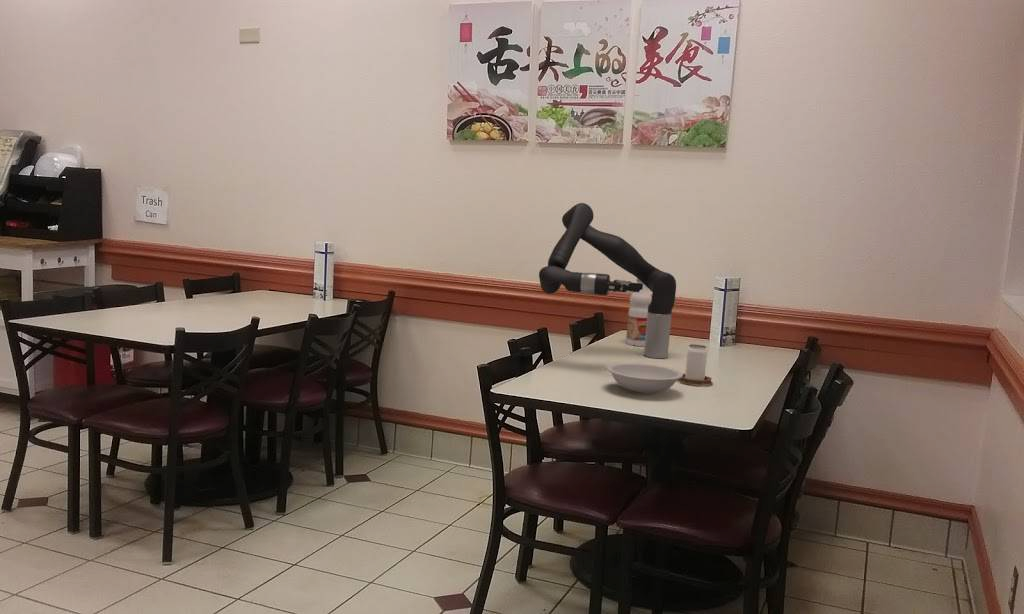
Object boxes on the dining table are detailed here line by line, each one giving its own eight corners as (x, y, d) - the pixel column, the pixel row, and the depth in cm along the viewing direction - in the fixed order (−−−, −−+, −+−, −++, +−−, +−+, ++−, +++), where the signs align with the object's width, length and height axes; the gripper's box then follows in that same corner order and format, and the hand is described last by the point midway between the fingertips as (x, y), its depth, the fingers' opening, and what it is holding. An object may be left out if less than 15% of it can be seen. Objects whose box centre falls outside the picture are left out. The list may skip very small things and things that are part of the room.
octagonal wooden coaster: (677, 376, 292) (678, 371, 292) (712, 381, 289) (713, 375, 289) (675, 383, 281) (675, 378, 280) (711, 388, 278) (712, 382, 277)
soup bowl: (602, 380, 280) (603, 360, 279) (674, 385, 279) (676, 365, 278) (608, 397, 256) (610, 376, 255) (687, 402, 255) (689, 381, 255)
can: (704, 383, 281) (707, 348, 279) (684, 381, 282) (687, 346, 281) (704, 379, 287) (707, 345, 286) (684, 377, 289) (688, 343, 287)
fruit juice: (631, 341, 359) (637, 276, 356) (651, 344, 354) (657, 279, 351) (622, 344, 352) (627, 277, 348) (642, 347, 347) (648, 280, 343)
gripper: (592, 274, 288) (639, 278, 284) (599, 271, 301) (644, 275, 297) (590, 296, 289) (638, 300, 285) (597, 292, 302) (642, 296, 298)
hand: (641, 287), depth 291 cm, fingers open, 8 cm apart
